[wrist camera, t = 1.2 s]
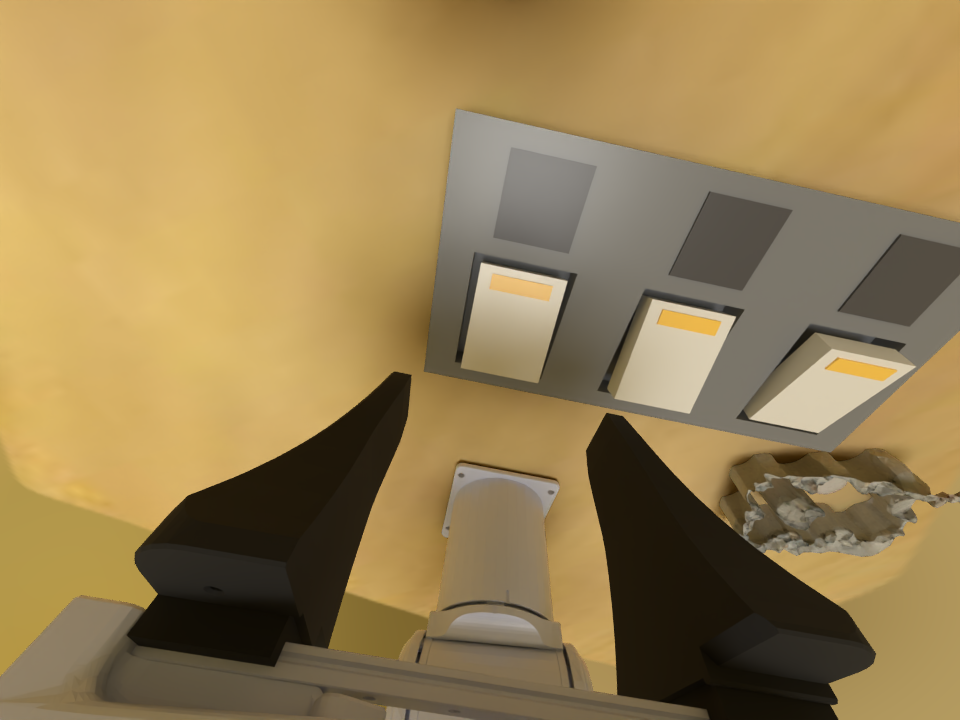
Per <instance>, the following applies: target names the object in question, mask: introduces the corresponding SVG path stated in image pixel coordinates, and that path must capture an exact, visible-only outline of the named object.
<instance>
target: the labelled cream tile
mask: <svg viewBox="0 0 960 720" xmlns="http://www.w3.org/2000/svg"><path fill="white" fill-rule="evenodd" d="M567 282H568V281H567V280H565V279H564V278H561V277H556V276H551V275H547V274H542V273H537V272H532V271H528V270H523V269H518V268H514V267H509V266H504V265H499V264H495V263H490V262H485V261H482V262H481V266H480V271H479V276H478V282H477V287H476V292H475V297H474V302H473V307H472V312H471V318H470V323H469V328H468V333H467V338H466V343H465V348H464V353H463V359H462V364H461V368H464V369H469V370H474V371H479V372H483V373H488V374H493V375H498V376H503V377H508V378H513V379H518V380H523V381H528V382H533V383H538V382H539V379H540V375H541V372H542V368H543V365H544V361H545V358H546V354H547V351H548V348H549V344H550V341H551V337H552V334H553V330H554V327H555V323H556V320H557V316H558V313H559V309H560V306H561V302H562V299H563V296H564V292H565V289H566V285H567Z"/></svg>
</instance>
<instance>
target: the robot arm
mask: <svg viewBox="0 0 960 720" xmlns="http://www.w3.org/2000/svg"><path fill="white" fill-rule="evenodd" d="M410 386H411V375H410V374H405V373H399V372H393V373H391V374H390V375H389V376H388V378H386V379H385V380H384V381H383V382H382V383H381V384H380V385H379V386H378V387H377V388H376V389H375V390H374V391H373V392H372V393H371V394H369V395H368V396H367V397H366V398H365V399H364V400H362V401H361V402H360V403H359V404H358V405H356V406H355V407H354V408H353V409H351V410H350V411H349V412H348V413H346V414H345V415H344V416H342V417H341V418H340V419H338V420H337V421H336V422H334V423H333V424H331V425H330V426H329V427H327V428H326V429H324V430H323V431H321V432H320V433H318V434H317V435H315V436H313V437H312V438H310V439H309V440H307V441H305V442H303V443H302V444H300V445H298V446H297V447H295V448H293V449H291V450H290V451H288V452H286V453H284V454H282V455H280V456H279V457H277V458H275V459H273V460H271V461H268V462H266V463H264V464H262V465H260V466H258V467H256V468H254V469H252V470H250V471H248V472H245V473H243V474H241V475H239V476H236V477H234V478H232V479H229V480H226V481H224V482H221V483H219V484H216V485H214V486H211V487H209V488H206V489H204V490H201V491H199V492H196V493H193V494H191V495H188V496H187V497H186V498H185V499H184V500H183V501H182V502H181V503H180V504H179V505H178V506H177V507H176V508H175V509H174V510H173V511H172V512H171V513H170V514H169V515H168V516H167V517H166V518H165V519H164V520H163V522H162V523H161V524H160V525H159V526H158V527H157V528H156V529H155V530H154V532H153V533H152V534H151V535H150V536H149V537H148V538H147V539H146V541H145V542H144V543H143V544H142V545H141V546H140V547H139V548H138V549H137V551H136V552H135V564H136V566H137V568H138V570H139V571H140V572H141V574H142V575H143V576H144V577H145V578H146V580H147V581H148V582H149V583H150V585H151V586H152V587H153V588H154V589H155V591H156V592H157V593H158V595H157V596H156V598H155V599H154V600H153V601H152V603H151V604H150V605H149V607H148V608H147V609H146V610H145V609H144V608H142V607H140V606H137V605H135V604H131V603H127V602H121V601H114V600H108V599H102V598H96V597H90V596H83V595H81V596H79V597H75V598H74V599H73V600H72V601H71V602H70V603H69V604H68V605H67V607H66V608H64V609H63V611H62V612H61V613H60V614H59V615H58V616H57V617H56V618H55V619H54V620H53V621H52V622H51V623H50V624H49V626H47V627H46V629H45V630H44V631H43V632H42V633H41V634H40V635H39V636H38V637H37V638H36V639H35V640H34V641H33V642H32V643H31V644H30V645H29V647H28V648H27V649H26V650H25V651H24V652H23V653H22V654H21V655H20V656H19V657H18V658H17V659H16V660H15V661H14V663H12V665H11V666H10V667H9V668H8V669H7V670H6V671H5V672H4V673H3V674H2V675H1V676H0V720H838V718H837V716H836V715H835V713H834V711H833V709H832V707H831V706H830V705H835V704H838V700H837V698H836V696H835V694H834V692H833V691H832V689H831V687H830V685H829V684H828V683H831V682H834V681H836V680H839V679H842V678H844V677H847V676H850V675H852V674H855V673H858V672H860V671H862V670H864V669H867V668H868V667H869V666H871V665H872V664H873V663H874V659H875V655H876V653H875V651H874V650H873V649H872V647H871V646H870V644H869V643H868V641H867V640H866V638H865V637H864V635H863V634H862V633H861V631H860V630H859V628H858V627H857V625H856V624H855V622H854V621H853V619H852V618H851V617H850V615H849V614H848V613H847V612H846V611H845V610H844V609H842V608H841V607H840V606H838V605H837V604H835V603H833V602H832V601H830V600H829V599H827V598H826V597H824V596H823V595H821V594H820V593H818V592H817V591H815V590H814V589H812V588H811V587H809V586H808V585H806V584H805V583H803V582H802V581H800V580H799V579H797V578H796V577H795V576H793V575H792V574H790V573H789V572H788V571H786V570H785V569H784V568H782V567H781V566H779V565H778V564H777V563H775V562H774V561H772V560H771V559H770V558H768V557H767V556H766V555H764V554H763V553H762V552H761V551H759V550H758V549H757V548H755V547H754V546H753V545H751V544H750V543H749V542H748V541H747V540H745V539H744V538H743V537H742V536H740V535H739V534H738V533H737V532H735V531H734V530H733V529H732V528H731V527H729V526H728V525H727V524H726V523H725V522H724V521H722V520H721V519H720V518H719V517H718V516H717V515H716V514H714V513H713V512H712V511H711V510H710V509H709V508H708V507H707V506H706V505H705V504H704V503H702V502H701V501H700V500H699V499H698V498H697V497H696V496H695V495H694V494H693V493H692V492H691V491H690V490H689V489H688V488H687V487H686V486H685V485H684V484H683V483H682V482H681V481H680V480H679V479H678V478H677V477H676V476H675V475H674V473H673V472H672V471H671V470H670V469H669V468H668V467H667V466H666V465H665V464H664V463H663V461H662V460H661V459H660V458H659V457H658V456H657V455H656V454H655V452H654V451H653V450H652V449H651V448H650V447H649V445H648V444H647V443H646V442H645V441H644V440H643V438H642V437H641V436H640V435H639V434H638V433H637V432H636V430H635V429H634V428H633V427H632V426H631V425H630V424H629V422H628V421H627V420H626V419H625V418H624V417H623V416H619V415H614V414H609V413H606V415H605V416H604V418H603V420H602V422H601V424H600V426H599V428H598V429H597V431H596V433H595V435H594V437H593V439H592V440H591V442H590V444H589V446H588V448H587V450H586V454H587V466H588V475H589V480H590V485H591V489H592V494H593V498H594V502H595V506H596V510H597V515H598V519H599V523H600V527H601V531H602V536H603V541H604V546H605V551H606V559H607V566H608V574H609V582H610V591H611V601H612V610H613V623H614V636H615V651H616V670H617V695H613V694H607V693H600V692H595V691H593V687H592V683H591V679H590V675H589V672H588V669H587V666H586V664H585V662H584V660H583V659H582V658H581V656H580V655H579V654H578V652H577V650H576V649H575V647H574V646H573V645H572V644H569V643H562V635H561V625H560V623H559V622H554V621H553V610H552V599H551V589H550V578H549V567H548V556H547V546H546V535H545V524H544V519H545V517H546V515H547V513H548V511H549V509H550V507H551V505H552V503H553V501H554V499H555V497H556V495H557V493H558V490H559V483H558V482H557V481H555V480H550V479H545V478H540V477H535V476H530V475H524V474H519V473H514V472H509V471H503V470H498V469H493V468H488V467H482V466H477V465H472V464H467V463H459V464H457V466H456V470H455V475H454V479H453V483H452V488H451V492H450V497H449V501H448V506H447V510H446V515H445V519H444V524H443V528H442V535H443V536H444V537H446V538H448V541H447V548H446V554H445V560H444V566H443V572H442V579H441V585H440V591H439V597H438V603H437V610H436V611H431V612H430V615H429V621H428V627H427V630H417V631H416V632H415V633H414V634H413V636H412V638H410V639H409V641H407V642H406V644H405V645H404V647H403V649H402V651H401V654H400V657H399V659H398V660H395V659H389V658H382V657H377V656H370V655H364V654H358V653H351V652H345V651H339V650H333V649H328V646H329V643H330V639H331V636H332V632H333V629H334V626H335V622H336V619H337V616H338V612H339V609H340V605H341V602H342V598H343V595H344V592H345V589H346V586H347V582H348V579H349V576H350V573H351V569H352V566H353V563H354V560H355V557H356V554H357V551H358V547H359V544H360V541H361V538H362V535H363V532H364V529H365V526H366V523H367V520H368V517H369V514H370V511H371V508H372V505H373V503H374V500H375V498H376V495H377V493H378V491H379V488H380V486H381V484H382V481H383V479H384V477H385V475H386V472H387V470H388V468H389V466H390V463H391V461H392V459H393V457H394V454H395V452H396V450H397V447H398V445H399V443H400V440H401V437H402V434H403V431H404V427H405V424H406V421H407V417H408V408H409V397H410ZM461 473H463V474H461ZM374 704H377V705H384V706H387V710H386V711H385V708H383V707H380V706H377V705H374Z"/></svg>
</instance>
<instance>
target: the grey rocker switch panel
mask: <svg viewBox="0 0 960 720" xmlns="http://www.w3.org/2000/svg"><path fill="white" fill-rule="evenodd" d="M482 261H485V262H490V263H495V264H499V265H504V266H509V267H514V268H518V269H523V270H528V271H532V272H537V273H542V274H547V275H551V276H556V277H561V278H564V279H565V280H567V281H568V282H567V285H566V289H565V292H564V296H563V299H562V302H561V306H560V309H559V313H558V316H557V320H556V323H555V327H554V330H553V334H552V337H551V341H550V344H549V348H548V351H547V354H546V358H545V361H544V365H543V368H542V372H541V375H540V379H539V382H538V383H533V382H528V381H523V380H518V379H513V378H508V377H503V376H498V375H493V374H488V373H483V372H479V371H474V370H469V369H464V368H461V364H462V359H463V353H464V348H465V343H466V338H467V333H468V328H469V323H470V318H471V312H472V307H473V302H474V297H475V292H476V287H477V282H478V276H479V271H480V266H481V262H482ZM642 295H646V296H650V297H655V298H660V299H665V300H669V301H674V302H679V303H683V304H688V305H693V306H698V307H702V308H707V309H712V310H717V311H721V312H724V313H727V314H729V315H732V316H735V317H736V318H735V320H734V322H733V324H732V327H731V329H730V331H729V333H728V335H727V337H726V339H725V341H724V343H723V345H722V347H721V349H720V351H719V354H718V356H717V358H716V360H715V362H714V364H713V366H712V368H711V370H710V372H709V374H708V376H707V378H706V380H705V383H704V385H703V387H702V389H701V391H700V393H699V395H698V397H697V399H696V401H695V403H694V405H693V407H692V410H691V412H690V414H688V413H683V412H678V411H673V410H668V409H663V408H658V407H653V406H648V405H643V404H638V403H633V402H628V401H623V400H618V399H614V398H613V396H612V395H611V393H610V392H609V391H608V389H607V387H608V385H609V382H610V379H611V377H612V374H613V371H614V368H615V366H616V363H617V360H618V358H619V355H620V352H621V350H622V347H623V344H624V342H625V339H626V336H627V333H628V331H629V328H630V325H631V323H632V320H633V317H634V315H635V312H636V309H637V307H638V304H639V301H640V298H641V296H642ZM959 331H960V223H958V222H954V221H949V220H945V219H941V218H936V217H932V216H927V215H923V214H919V213H914V212H910V211H905V210H901V209H897V208H892V207H888V206H883V205H879V204H875V203H870V202H866V201H861V200H857V199H852V198H848V197H844V196H839V195H835V194H830V193H826V192H822V191H817V190H813V189H808V188H804V187H800V186H795V185H791V184H786V183H782V182H777V181H773V180H769V179H764V178H760V177H755V176H751V175H747V174H742V173H738V172H733V171H729V170H725V169H720V168H716V167H711V166H707V165H703V164H698V163H694V162H689V161H685V160H680V159H676V158H672V157H667V156H663V155H658V154H654V153H650V152H645V151H641V150H636V149H632V148H628V147H623V146H619V145H614V144H610V143H606V142H601V141H597V140H592V139H588V138H583V137H579V136H575V135H570V134H566V133H561V132H557V131H553V130H548V129H544V128H539V127H535V126H531V125H526V124H522V123H517V122H513V121H508V120H504V119H500V118H495V117H491V116H486V115H482V114H478V113H473V112H469V111H464V110H460V109H456V112H455V120H454V128H453V137H452V145H451V153H450V161H449V170H448V178H447V186H446V194H445V203H444V211H443V219H442V227H441V235H440V244H439V252H438V260H437V268H436V277H435V285H434V293H433V301H432V309H431V318H430V326H429V334H428V342H427V351H426V359H425V367H424V372H429V373H434V374H439V375H444V376H449V377H455V378H460V379H465V380H470V381H475V382H480V383H485V384H490V385H495V386H500V387H505V388H510V389H515V390H520V391H525V392H530V393H535V394H540V395H545V396H550V397H555V398H560V399H565V400H570V401H575V402H580V403H585V404H590V405H595V406H600V407H605V408H610V409H615V410H620V411H625V412H630V413H635V414H640V415H645V416H650V417H655V418H660V419H665V420H670V421H675V422H680V423H685V424H690V425H695V426H700V427H705V428H710V429H715V430H720V431H725V432H730V433H735V434H740V435H745V436H750V437H755V438H760V439H765V440H770V441H775V442H780V443H785V444H790V445H795V446H800V447H805V448H811V449H816V450H821V451H826V452H832V451H833V450H834V449H835V448H836V447H837V446H838V445H839V444H840V443H841V442H842V441H843V440H844V439H845V438H846V437H848V436H849V435H850V434H851V433H852V432H853V431H854V430H855V429H856V428H857V427H858V426H859V425H860V424H861V423H862V422H863V421H864V420H866V419H867V418H868V417H869V416H870V415H871V414H872V413H873V412H874V411H875V410H876V409H877V408H878V407H879V406H880V405H881V404H882V403H884V402H885V401H886V400H887V399H888V398H889V397H890V396H891V395H892V394H893V393H894V392H895V391H896V390H897V389H898V388H899V387H900V386H902V385H903V384H904V383H905V382H906V381H907V380H908V379H909V378H910V377H911V376H912V375H913V374H914V373H915V372H916V371H917V370H918V369H920V368H921V367H922V366H923V365H924V364H925V363H926V362H927V361H928V360H929V359H930V358H931V357H932V356H933V355H934V354H935V353H936V352H938V351H939V350H940V349H941V348H942V347H943V346H944V345H945V344H946V343H947V342H948V341H949V340H950V339H951V338H952V337H953V336H954V335H956V334H957V333H958V332H959ZM815 332H816V333H820V334H825V335H830V336H835V337H839V338H844V339H849V340H853V341H858V342H863V343H868V344H872V345H877V346H882V347H887V348H891V349H895V350H897V351H898V352H899V353H900V354H902V355H903V356H904V357H905V358H906V359H908V360H909V361H910V362H911V363H913V364H914V365H915V366H916V367H915V368H914V369H912V370H911V371H909V372H908V373H906V374H905V375H903V376H902V377H900V378H899V379H897V380H896V381H894V382H893V383H892V384H890V385H889V386H887V387H886V388H884V389H883V390H881V391H880V392H878V393H877V394H875V395H874V396H872V397H871V398H869V399H868V400H866V401H865V402H863V403H862V404H860V405H859V406H857V407H856V408H855V409H853V410H852V411H850V412H849V413H847V414H846V415H844V416H843V417H841V418H840V419H838V420H837V421H835V422H834V423H832V424H831V425H829V426H828V427H826V428H825V429H823V430H822V431H820V432H819V433H816V432H811V431H806V430H801V429H796V428H791V427H786V426H781V425H776V424H771V423H766V422H761V421H756V420H751V419H749V418H748V416H747V415H746V413H745V411H744V410H743V409H744V407H745V406H746V405H747V403H748V402H749V401H750V400H751V398H752V397H753V396H754V395H755V393H756V392H757V391H758V389H759V388H760V387H761V386H762V384H763V383H764V382H765V381H766V379H767V378H768V377H769V375H770V374H771V373H772V372H773V371H774V370H775V369H776V368H777V367H778V366H779V365H780V364H781V363H783V362H784V361H785V360H786V359H787V358H788V357H789V356H790V355H791V354H792V353H793V352H794V351H796V350H797V349H798V348H799V347H800V346H801V345H802V344H803V343H804V342H805V341H806V340H808V339H809V338H810V337H811V336H812V335H813V334H814V333H815Z"/></svg>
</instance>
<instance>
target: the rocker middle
mask: <svg viewBox="0 0 960 720" xmlns="http://www.w3.org/2000/svg"><path fill="white" fill-rule="evenodd" d="M735 318H736V317H735V316H732V315H729V314H727V313H724V312H721V311H717V310H712V309H707V308H702V307H698V306H693V305H688V304H683V303H679V302H674V301H669V300H665V299H660V298H655V297H650V296H646V295H642V296H641V298H640V301H639V304H638V307H637V309H636V312H635V315H634V317H633V320H632V323H631V325H630V328H629V331H628V333H627V336H626V339H625V342H624V344H623V347H622V350H621V352H620V355H619V358H618V360H617V363H616V366H615V368H614V371H613V374H612V377H611V379H610V382H609V385H608V387H607V389H608V391H609V392H610V393H611V395H612V396H613V398H614V399H618V400H623V401H628V402H633V403H638V404H643V405H648V406H653V407H658V408H663V409H668V410H673V411H678V412H683V413H688V414H690V412H691V410H692V407H693V405H694V403H695V401H696V399H697V397H698V395H699V393H700V391H701V389H702V387H703V385H704V383H705V380H706V378H707V376H708V374H709V372H710V370H711V368H712V366H713V364H714V362H715V360H716V358H717V356H718V354H719V351H720V349H721V347H722V345H723V343H724V341H725V339H726V337H727V335H728V333H729V331H730V329H731V327H732V324H733V322H734V320H735Z"/></svg>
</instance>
